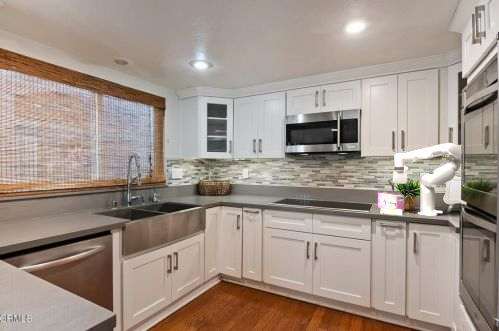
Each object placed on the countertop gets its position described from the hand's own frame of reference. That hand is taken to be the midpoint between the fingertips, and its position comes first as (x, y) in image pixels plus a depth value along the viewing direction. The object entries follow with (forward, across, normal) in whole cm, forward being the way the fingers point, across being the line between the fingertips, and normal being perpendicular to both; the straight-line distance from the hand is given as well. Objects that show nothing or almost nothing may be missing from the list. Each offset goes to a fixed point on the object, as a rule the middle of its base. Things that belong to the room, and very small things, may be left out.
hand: (400, 190), depth 209 cm
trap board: (+18, +7, -2) cm, 20 cm away
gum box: (+19, +9, -21) cm, 29 cm away
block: (+15, +7, +1) cm, 17 cm away
